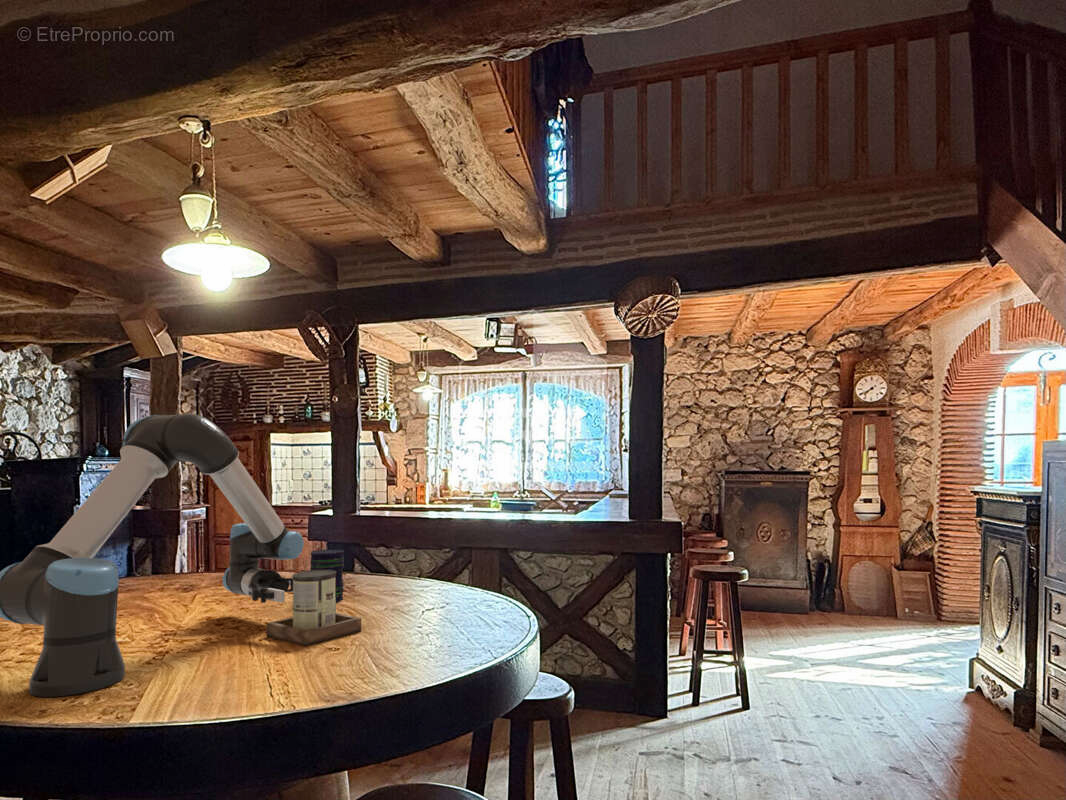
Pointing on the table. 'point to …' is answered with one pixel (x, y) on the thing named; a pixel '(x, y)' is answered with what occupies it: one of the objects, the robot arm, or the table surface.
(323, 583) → the coffee can
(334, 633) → the wooden tray
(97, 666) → the robot arm
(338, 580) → the dark barrel
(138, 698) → the table surface
